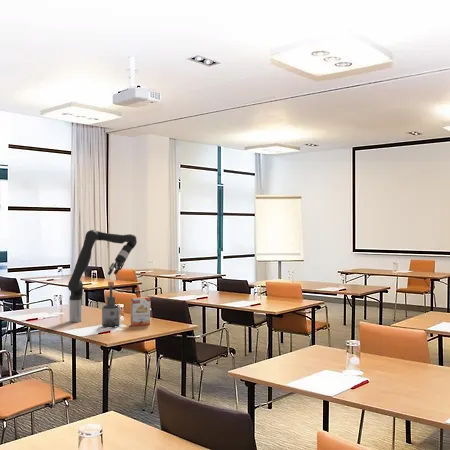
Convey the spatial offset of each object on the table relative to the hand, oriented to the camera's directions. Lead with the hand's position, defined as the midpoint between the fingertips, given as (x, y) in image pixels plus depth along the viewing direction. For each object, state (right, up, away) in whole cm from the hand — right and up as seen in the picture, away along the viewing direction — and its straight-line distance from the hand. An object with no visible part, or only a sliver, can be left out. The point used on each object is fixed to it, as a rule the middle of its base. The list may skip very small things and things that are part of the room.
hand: (111, 274), depth 405 cm
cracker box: (+22, -39, +1) cm, 45 cm away
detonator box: (+1, -39, -5) cm, 39 cm away
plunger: (0, -17, -3) cm, 18 cm away
